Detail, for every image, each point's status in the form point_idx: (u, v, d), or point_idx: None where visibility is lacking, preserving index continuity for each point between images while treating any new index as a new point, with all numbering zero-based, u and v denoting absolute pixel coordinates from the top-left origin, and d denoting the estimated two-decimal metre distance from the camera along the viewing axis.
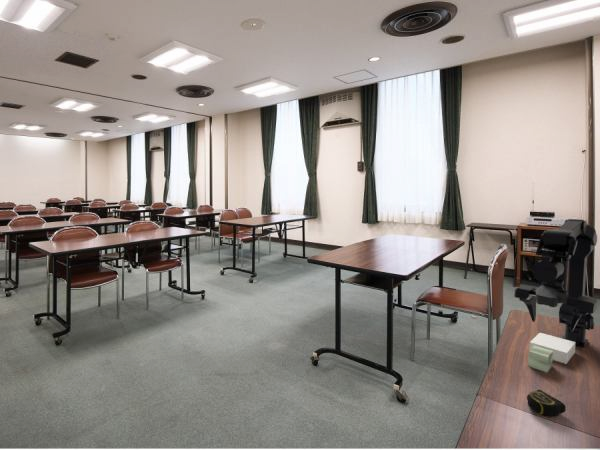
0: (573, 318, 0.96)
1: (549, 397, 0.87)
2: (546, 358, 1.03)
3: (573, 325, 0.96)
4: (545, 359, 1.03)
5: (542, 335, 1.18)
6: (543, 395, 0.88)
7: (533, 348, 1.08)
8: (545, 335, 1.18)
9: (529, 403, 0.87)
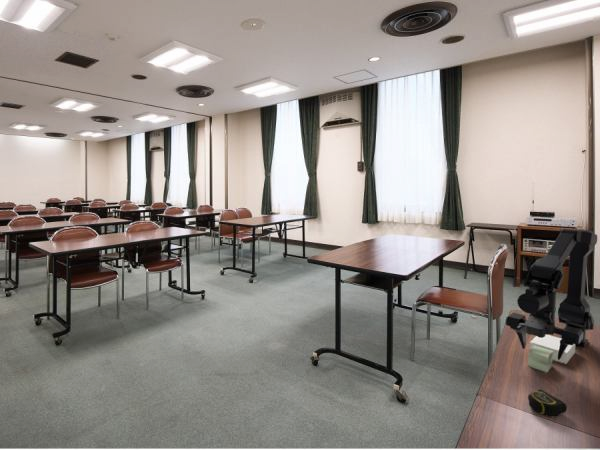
0: (560, 347, 1.01)
1: (550, 397, 0.87)
2: (546, 358, 1.03)
3: (560, 354, 1.01)
4: (545, 359, 1.03)
5: None
6: (544, 395, 0.88)
7: (533, 348, 1.08)
8: (545, 335, 1.18)
9: (530, 403, 0.87)
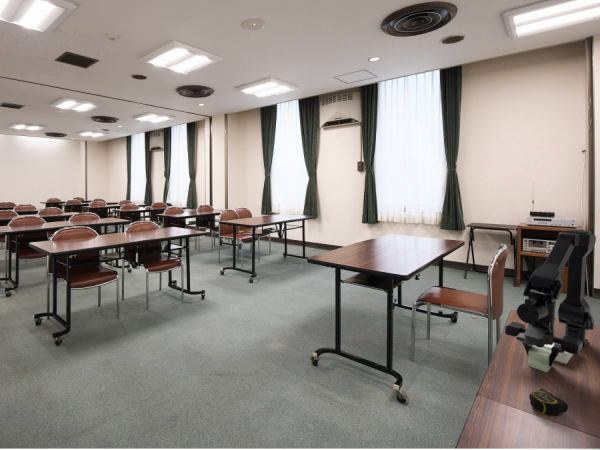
0: (551, 355, 1.03)
1: (551, 396, 0.87)
2: (546, 358, 1.03)
3: (552, 361, 1.03)
4: (545, 359, 1.03)
5: None
6: (545, 394, 0.88)
7: (533, 348, 1.08)
8: None
9: (531, 402, 0.87)
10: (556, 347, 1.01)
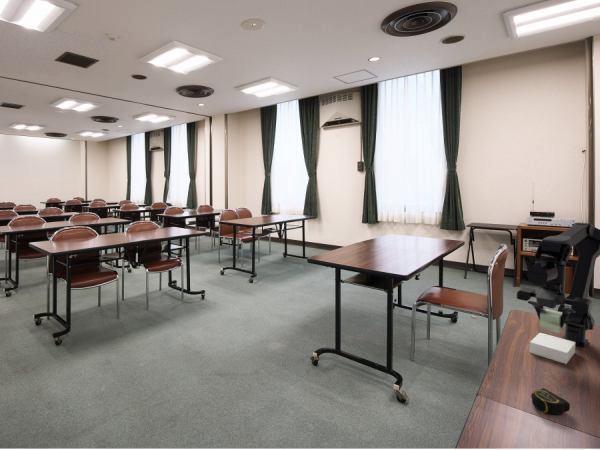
0: (562, 316, 1.07)
1: (553, 395, 0.87)
2: (557, 319, 1.07)
3: (563, 322, 1.08)
4: (557, 320, 1.07)
5: (542, 335, 1.18)
6: (547, 394, 0.88)
7: (544, 311, 1.12)
8: (545, 335, 1.18)
9: (533, 401, 0.87)
10: (567, 308, 1.06)
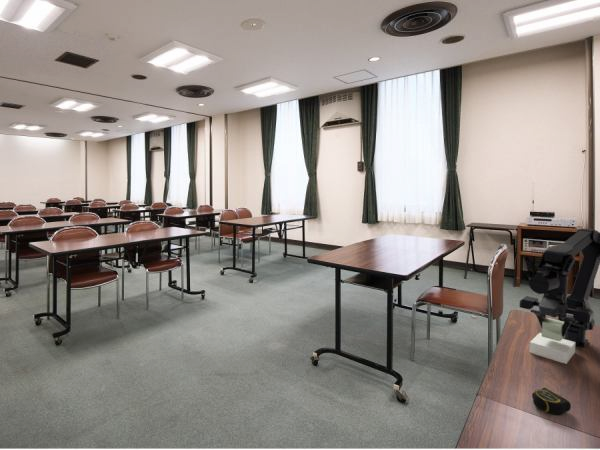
0: (564, 325, 1.10)
1: (554, 395, 0.87)
2: (559, 328, 1.10)
3: (564, 331, 1.10)
4: (559, 328, 1.10)
5: None
6: (548, 393, 0.88)
7: (546, 319, 1.15)
8: None
9: (534, 401, 0.88)
10: (569, 317, 1.08)
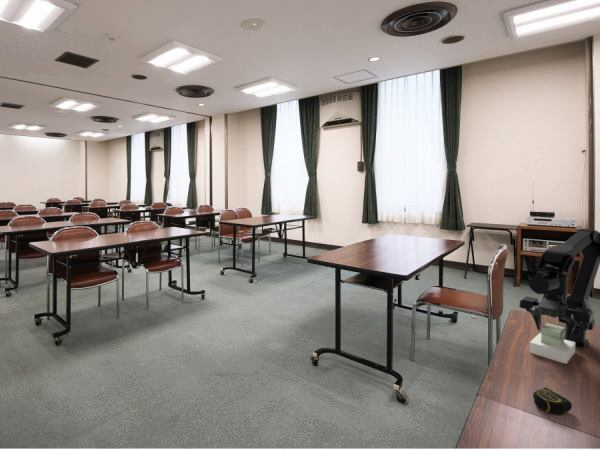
0: (569, 326, 1.09)
1: (555, 395, 0.87)
2: (558, 333, 1.10)
3: (569, 332, 1.09)
4: (558, 334, 1.10)
5: None
6: (549, 393, 0.88)
7: (546, 325, 1.15)
8: None
9: (535, 401, 0.88)
10: (574, 319, 1.07)
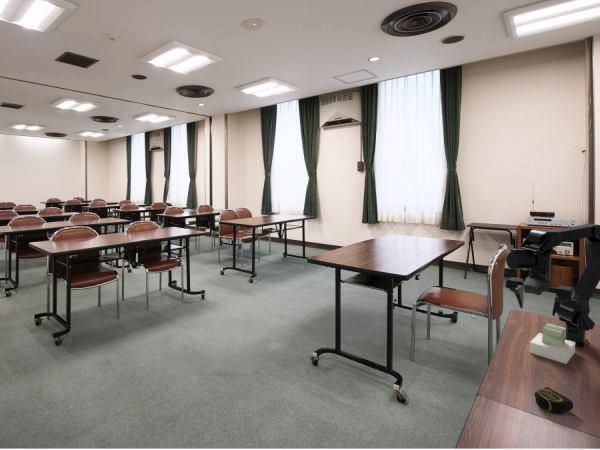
0: (555, 304, 1.12)
1: (557, 394, 0.88)
2: (559, 334, 1.10)
3: (555, 310, 1.13)
4: (559, 335, 1.10)
5: None
6: (551, 392, 0.89)
7: (547, 325, 1.15)
8: None
9: (537, 400, 0.88)
10: None
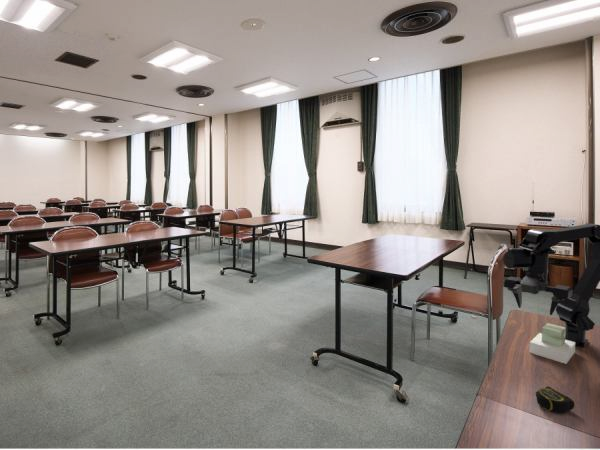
0: (552, 304, 1.13)
1: (558, 394, 0.88)
2: (559, 333, 1.10)
3: (552, 310, 1.14)
4: (558, 334, 1.10)
5: None
6: (552, 392, 0.89)
7: (547, 325, 1.15)
8: None
9: (538, 400, 0.88)
10: None
